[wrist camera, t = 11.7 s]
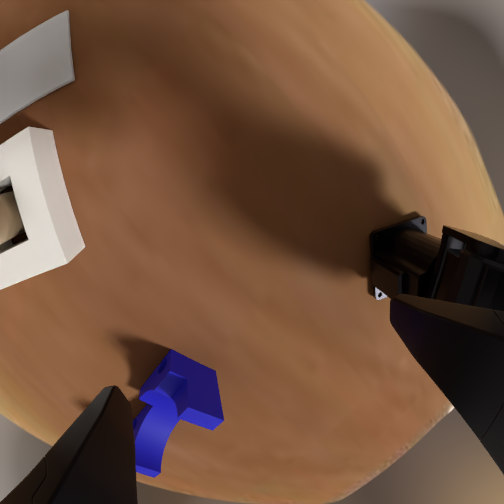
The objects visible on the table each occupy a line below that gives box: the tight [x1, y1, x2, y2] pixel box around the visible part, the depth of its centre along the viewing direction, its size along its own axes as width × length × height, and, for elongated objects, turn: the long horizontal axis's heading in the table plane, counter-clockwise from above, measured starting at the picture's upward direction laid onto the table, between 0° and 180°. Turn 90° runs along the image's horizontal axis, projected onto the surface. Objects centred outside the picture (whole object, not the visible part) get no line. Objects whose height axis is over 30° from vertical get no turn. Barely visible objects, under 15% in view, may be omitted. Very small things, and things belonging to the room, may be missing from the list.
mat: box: [0, 10, 75, 124], centre depth 12 cm, size 8×7×1 cm
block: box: [0, 127, 85, 290], centre depth 14 cm, size 9×9×4 cm
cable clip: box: [133, 349, 224, 477], centre depth 21 cm, size 12×4×6 cm, turn 141°
